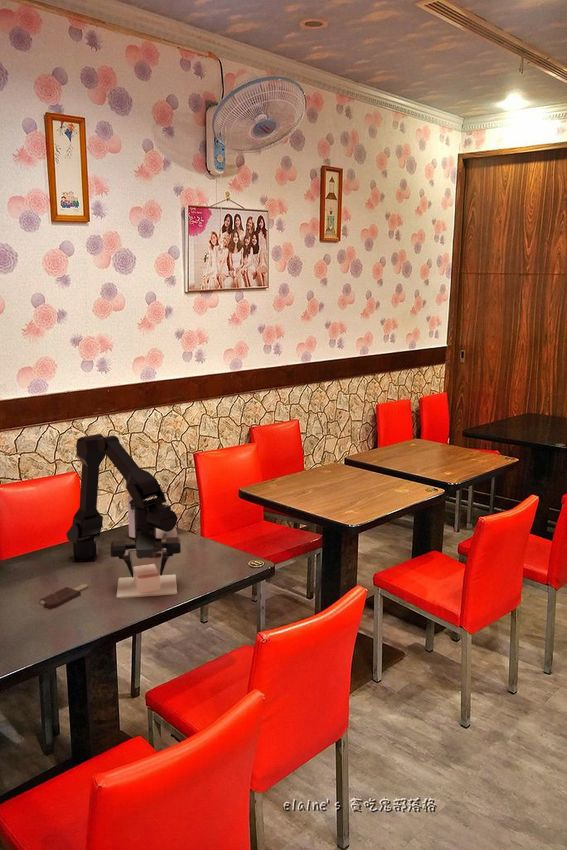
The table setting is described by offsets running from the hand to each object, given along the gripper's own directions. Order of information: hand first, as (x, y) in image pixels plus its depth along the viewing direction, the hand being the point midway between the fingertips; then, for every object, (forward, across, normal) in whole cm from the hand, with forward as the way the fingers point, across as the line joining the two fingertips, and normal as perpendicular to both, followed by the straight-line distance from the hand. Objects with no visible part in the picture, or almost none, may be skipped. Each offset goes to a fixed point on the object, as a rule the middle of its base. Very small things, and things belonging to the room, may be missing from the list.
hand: (146, 575), depth 196 cm
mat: (+3, 0, 0) cm, 3 cm away
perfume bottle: (+3, -4, +39) cm, 39 cm away
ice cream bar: (+4, -21, -3) cm, 22 cm away
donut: (+3, +5, +24) cm, 25 cm away
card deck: (+3, 0, 0) cm, 3 cm away
